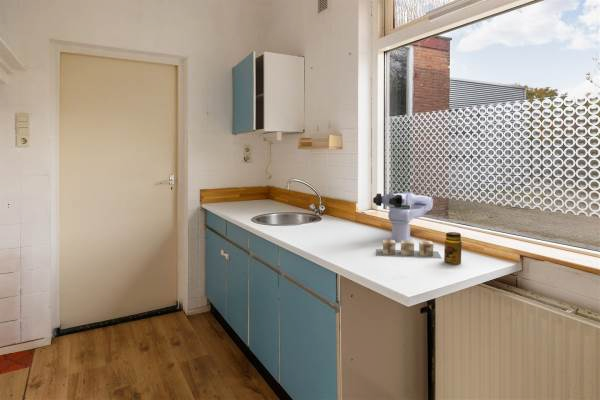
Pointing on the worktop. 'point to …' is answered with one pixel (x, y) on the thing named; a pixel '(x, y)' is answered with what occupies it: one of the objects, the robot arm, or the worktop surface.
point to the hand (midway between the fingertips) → (381, 200)
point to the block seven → (425, 248)
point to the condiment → (453, 248)
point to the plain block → (407, 247)
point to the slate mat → (416, 255)
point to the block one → (389, 247)
